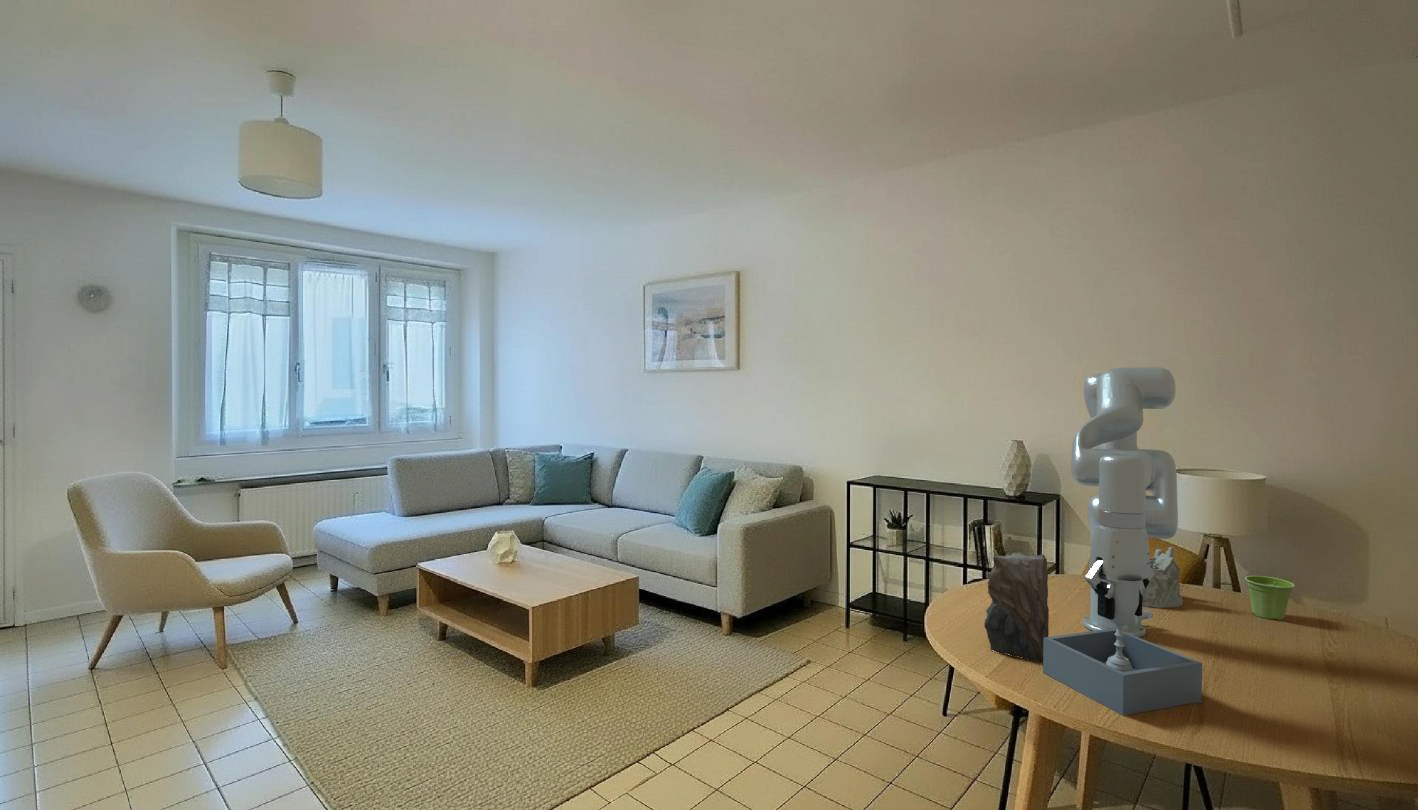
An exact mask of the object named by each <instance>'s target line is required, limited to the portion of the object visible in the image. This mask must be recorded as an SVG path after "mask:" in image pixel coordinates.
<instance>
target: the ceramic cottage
mask: <svg viewBox="0 0 1418 810" xmlns="http://www.w3.org/2000/svg"><path fill="white" fill-rule="evenodd" d="M1175 558H1176V557H1175V547H1171V546H1169V547H1168V550H1166V551H1165V553H1164V551H1163V550H1162V549H1155V550H1154V556H1153V557H1149V561H1150V565H1149V566H1150V567H1151V568H1152V570H1153V571H1154V572H1155V575H1154V576H1153V577H1152V579H1151V580H1150V581H1149V584H1148V586H1147V587H1146V588H1145V594H1144V595H1143V598H1142V607H1145V608H1146V607H1148V608H1151V607H1152V608H1156V609H1158V608H1160V609H1162V608H1163V609H1164V608H1165V609H1166V608H1167V609H1169V608H1171V609H1172V608H1178V607H1179V608H1180V607H1183V605H1184V602H1183V597H1182V596H1181V584H1180V583H1179V578H1180V572H1182V571H1181V568H1180V566H1178V564H1177V563H1176V561H1175Z"/></svg>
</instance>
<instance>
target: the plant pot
mask: <svg viewBox="0 0 1418 810" xmlns="http://www.w3.org/2000/svg"><path fill="white" fill-rule="evenodd" d="M1244 580H1245V581H1246V584H1247V586H1248V591H1249V599H1250V606H1251V607H1250V608H1251V613H1252V614H1254V615H1255V616H1257V617H1259V618H1263V619H1267V620H1273V619H1276V620H1279V621H1281V620H1284V619H1285V617H1286V612H1287V607H1288V603H1289V598H1290V594H1291V593H1292V591H1293V588H1295V584H1294V583H1293V582H1291V581H1288V580H1286V579H1281V578H1277V577H1271V576H1265V575H1263V576H1262V575H1247V576H1245V577H1244Z"/></svg>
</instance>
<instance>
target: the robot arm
mask: <svg viewBox="0 0 1418 810" xmlns="http://www.w3.org/2000/svg"><path fill="white" fill-rule="evenodd" d="M1176 390H1177V389H1176V380H1175V378H1174V375H1173V374H1172V372H1171V371H1170V370H1169V369H1167V368H1165V367H1159V366H1158V367H1157V366H1156V367H1155V366H1151V367H1149V366H1148V367H1146V366H1145V367H1144V366H1143V367H1141V366H1140V367H1139V366H1138V367H1130V366H1128V367H1114V368H1109V369H1107V370H1106V371H1104V372H1102V373H1097V374H1093V375H1090V376H1088V377H1087V378H1086V379H1085V381H1084V383H1083V397H1084V402H1085V406H1086V409H1087V412H1088V415H1089V416H1090V419H1089V420H1087V421H1086V422H1085V423H1084V424H1083V425H1081V426H1080V427H1079V429H1078V430H1077V431H1076V433H1075V435H1074V437H1073V439H1072V444H1071V445H1072V446H1071V454H1070V455H1071V458H1070V469H1071V470H1070V471H1071V475H1072V478H1073V479H1074V481H1075V482H1076V483H1077V484H1078V485H1081V486H1085V487H1087V486H1088V487H1098V494H1097V493H1096V494H1095V495H1093V496H1091V498H1089V501H1088V503H1087V516H1088V517H1087V518H1088V524H1089V531H1090V533H1089V534H1090V548H1089V549H1090V550H1089V562H1088V564H1089V565H1088V573H1087V574H1086V575H1085V581H1086V582H1087V583H1088V585H1090V609H1089V610H1090V614H1089V615H1086V616H1084V617H1083V618H1082V625H1083V626H1084V627H1085V628H1087V629H1088V630H1090V631H1098V630H1106V629H1114V628H1116V629H1117V626H1116V624H1115V623H1113V622H1112V621H1111V620H1113V619H1114V613H1115V600H1114V598H1111V597H1112V594H1113V591H1114V588H1115V583H1117V582H1118V580H1124V581H1139V580H1140V579H1141V577H1142V580H1141V582H1140V584H1139V605H1138V607H1137V610H1136V612H1135V614H1134V616H1133V617H1132V619H1131V620H1130V622H1129V624H1128V625H1123V628H1122V630H1123V631H1124V632H1126V633H1129V634H1131V635H1134V636H1136V637H1139V638H1141V637H1144V636H1145V635H1146V633H1147V630H1146V626H1144V625H1143V624H1141V623H1142V621H1143V620H1148V619H1153V616H1154V614H1153V612H1152V611H1151V610H1150V609H1146V610H1143V606H1142V598H1143V595H1144V594H1145V588H1146V587H1147V586H1148V584H1149V581H1150V580H1151V579H1152V577H1153V576H1154V575H1155V572H1154V571H1153V570H1152V568H1151V567H1150V566H1149V565H1150V561H1149V558H1150V546H1149V539H1158V540H1166V539H1171V538H1173V537H1174V536H1175V535H1176V533H1177V531H1178V525H1179V524H1178V523H1179V513H1178V511H1179V510H1178V507H1179V506H1178V480H1177V479H1178V478H1177V477H1178V476H1177V467H1176V462H1175V459H1174V457H1173V456H1172V454H1170V453H1169V452H1167V451H1165V450H1162V449H1161V450H1160V449H1152V448H1151V449H1148V448H1147V449H1144V448H1139V447H1138V431H1140V429H1141V428H1142V426H1143V424H1144V410H1161V409H1162V410H1163V409H1165V408H1166V409H1167V408H1168V407H1169V406H1171V405H1172V403H1173V402H1174V400H1175V397H1176ZM1094 447H1095V448H1094ZM1146 492H1150V493H1151V494H1152V495H1146ZM1102 575H1103V576H1105V577H1106V579H1104V578H1103V576H1102ZM1105 583H1108V585H1107V588H1105V587H1104V584H1105Z"/></svg>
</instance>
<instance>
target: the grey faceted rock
mask: <svg viewBox="0 0 1418 810" xmlns="http://www.w3.org/2000/svg"><path fill="white" fill-rule="evenodd" d="M992 559H993V560H992V561H993V567H992V568H991V571H990V572H989V574H988V575H989V576H988V582H987V594H988V595H989V596H990V599H991V601H992V602H991V603H990V606H988V608H987V609H986V617H985V619H984V623H983V625H984V628H985V631H986V636H987V638H988V642H989V645H990V649H991V650H994V651H996V652H999V653H998V654H1000V653H1007V654H1010V655H1012V656H1011V657H1014V656H1019V657H1023V658H1022V659H1024V658H1026V659H1025V660H1027V659H1029V660H1028V661H1031V660H1033V661H1032V662H1037V661H1041V662H1040V663H1042V662H1043V645H1044V638H1045V637H1049V634H1050V633H1049V616H1050V614H1049V611H1050V609H1049V606H1048V605H1049V604H1048V599H1049V592H1048V591H1049V588H1048V587H1049V585H1048V579H1049V574H1048V570H1047V569H1048V560H1047V558H1046V556H1045V554H1043V553H1042V554H1037V555H1036V554H1029V553H1025V552H1020V551H1019V552H1013V553H1011V554H1005V555H994V556H993V557H992ZM991 650H990V651H991ZM996 652H995V653H996ZM1019 657H1018V658H1019Z"/></svg>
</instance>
